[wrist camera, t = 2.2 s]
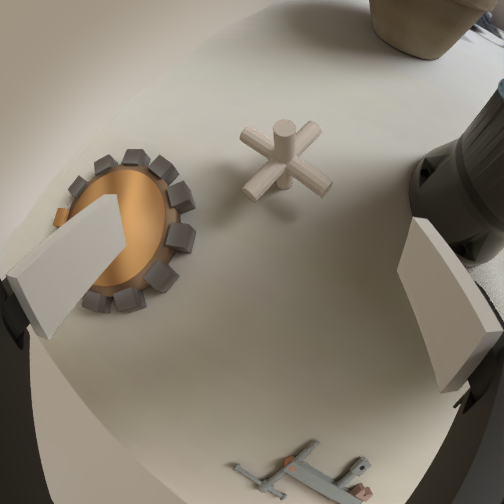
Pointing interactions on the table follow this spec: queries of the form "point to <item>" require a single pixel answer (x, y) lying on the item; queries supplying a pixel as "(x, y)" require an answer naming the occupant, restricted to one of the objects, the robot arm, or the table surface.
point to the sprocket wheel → (136, 227)
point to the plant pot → (426, 23)
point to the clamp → (317, 479)
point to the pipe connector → (284, 159)
